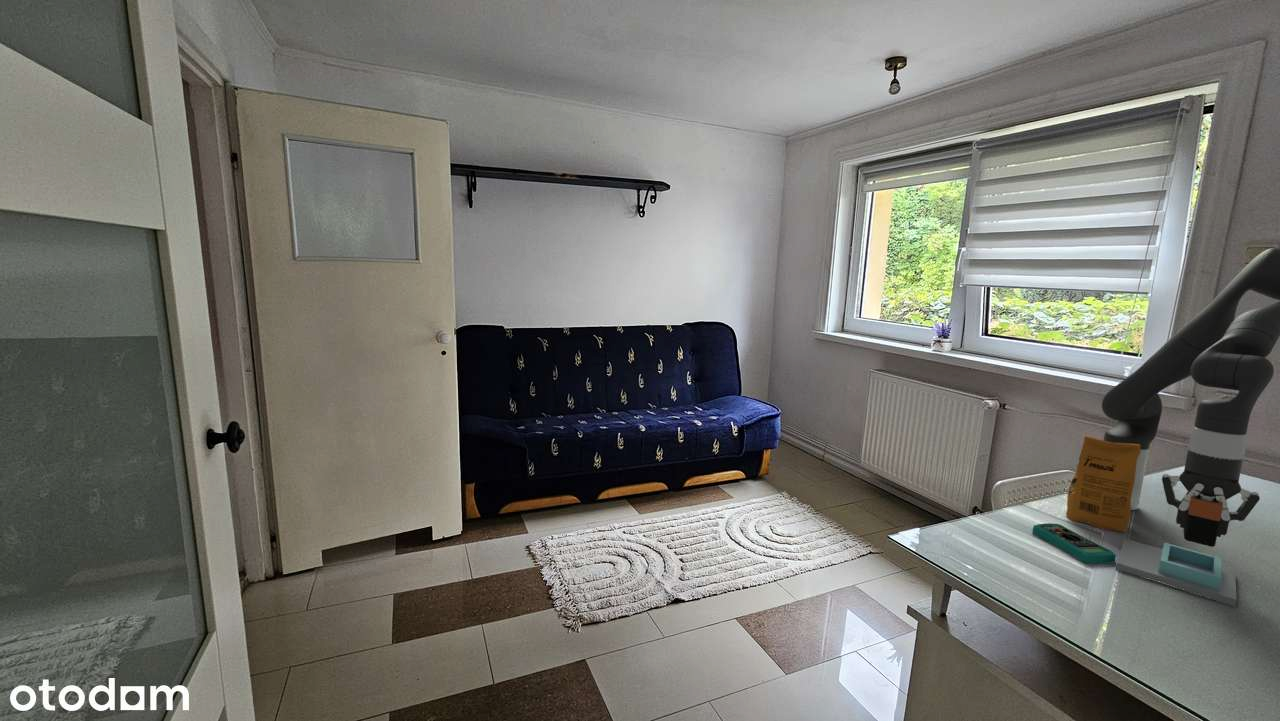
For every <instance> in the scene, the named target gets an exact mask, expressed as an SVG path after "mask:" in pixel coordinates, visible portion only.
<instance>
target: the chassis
mask: <svg viewBox="0 0 1280 721" xmlns="http://www.w3.org/2000/svg"><path fill="white" fill-rule="evenodd" d="M1115 570H1117V571H1121V572H1123V571H1124V572H1123V573H1126V572H1127V574H1129V573H1130V575H1133V574H1135V575H1134V576H1136V575H1139V576H1142V577H1145V578H1150V579H1153V580H1156V581H1160V582H1163V583H1166V584H1169V585H1172V586H1175V587H1177V588H1180V589H1184V590H1186V591H1188V592H1187V593H1189V592H1192V593H1196V594H1199V595H1202V596H1206V597H1209V598H1211V599H1213V600H1212V601H1214V600H1216V601H1215V602H1218V601H1219V602H1218V603H1222V604H1224V605H1227V604H1228V605H1227V606H1230V605H1231V607H1233V606H1234V608H1236V604H1237V601H1238V600H1237V586H1236V585H1237V584H1236V569H1233V568H1231V567H1230V568H1229V567H1226V566H1223V565H1222V558H1221V557H1219V556H1214V555H1212V554H1208V553H1204V552H1201V551H1197V550H1194V549H1190V548H1187V547H1182V546H1179V545H1175V544H1171V543H1167V542H1163V547H1162V548H1159V547H1155V546H1152V545H1148V544H1145V543H1141V542H1138V541H1134V540H1131V539H1127V538H1125V539H1124V541H1123V545H1122V548H1121V550H1120V553H1119V555H1118V558H1117V561H1116V564H1115ZM1139 576H1138V577H1139ZM1142 577H1141V578H1142ZM1145 578H1144V579H1145ZM1177 588H1176V589H1177ZM1180 589H1179V590H1180ZM1186 591H1185V592H1186ZM1192 593H1191V594H1192ZM1196 594H1195V595H1196ZM1199 595H1198V596H1199ZM1202 596H1201V597H1202ZM1211 599H1210V600H1211Z"/></svg>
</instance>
